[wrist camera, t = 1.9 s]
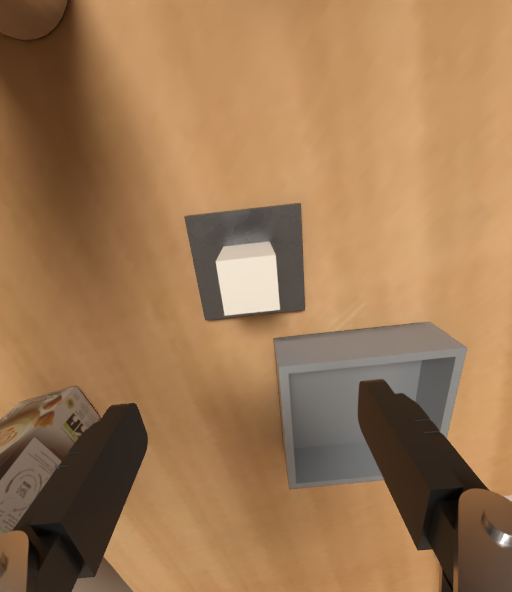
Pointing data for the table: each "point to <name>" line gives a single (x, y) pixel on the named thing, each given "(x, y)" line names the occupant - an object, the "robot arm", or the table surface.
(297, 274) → the stud plate
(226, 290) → the white rectangular block
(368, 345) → the grey bin
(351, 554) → the table surface
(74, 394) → the cereal box
